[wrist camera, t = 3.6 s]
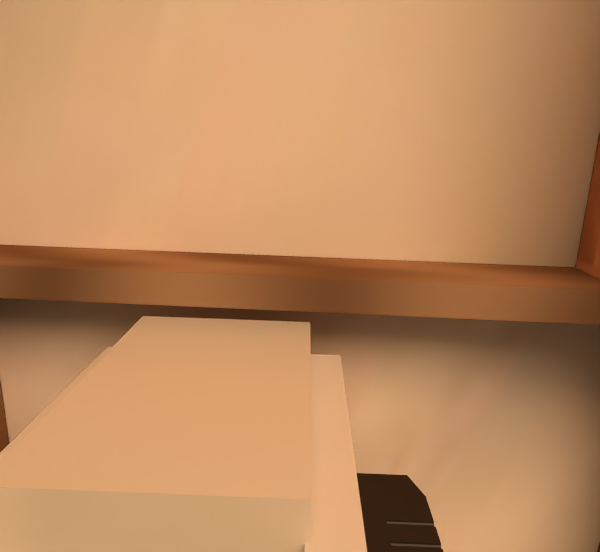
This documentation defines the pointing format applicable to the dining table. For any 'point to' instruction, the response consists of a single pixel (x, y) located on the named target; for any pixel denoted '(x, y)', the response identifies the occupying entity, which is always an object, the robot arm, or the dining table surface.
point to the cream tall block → (172, 446)
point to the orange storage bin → (591, 226)
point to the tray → (298, 285)
